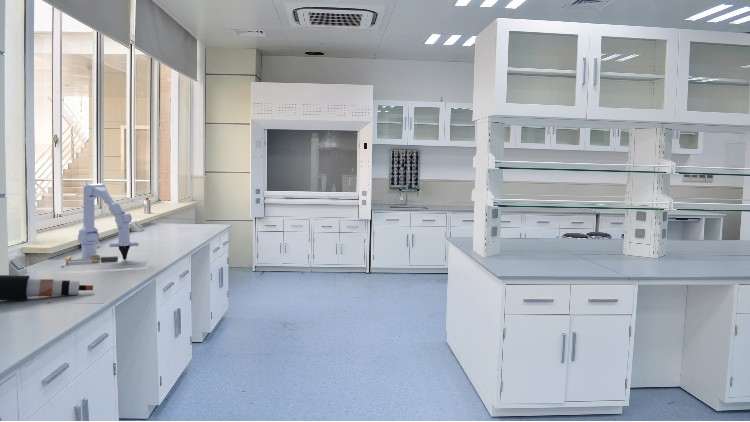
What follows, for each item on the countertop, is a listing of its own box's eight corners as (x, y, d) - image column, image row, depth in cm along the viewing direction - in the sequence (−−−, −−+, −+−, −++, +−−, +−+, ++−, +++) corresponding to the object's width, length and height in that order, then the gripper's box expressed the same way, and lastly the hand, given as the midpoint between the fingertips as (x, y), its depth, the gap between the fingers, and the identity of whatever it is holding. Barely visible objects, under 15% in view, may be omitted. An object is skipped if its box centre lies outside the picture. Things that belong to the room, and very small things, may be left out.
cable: (91, 304, 224) (93, 286, 219) (-5, 305, 208) (-5, 286, 204) (92, 289, 232) (94, 271, 227) (0, 289, 216) (0, 270, 211)
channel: (66, 263, 286) (66, 255, 286) (123, 261, 295) (122, 253, 294) (61, 267, 276) (61, 259, 275) (120, 264, 284) (119, 256, 284)
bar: (101, 261, 287) (101, 257, 287) (117, 260, 290) (117, 256, 290) (101, 262, 285) (100, 257, 285) (117, 261, 288) (117, 257, 287)
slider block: (91, 261, 286) (91, 254, 286) (99, 260, 288) (99, 254, 287) (90, 262, 283) (90, 255, 283) (98, 261, 284) (98, 255, 284)
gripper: (108, 236, 283) (109, 261, 284) (137, 235, 287) (138, 260, 288) (110, 234, 289) (111, 259, 291) (138, 233, 294) (139, 257, 295)
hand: (124, 259), depth 290 cm, fingers closed
